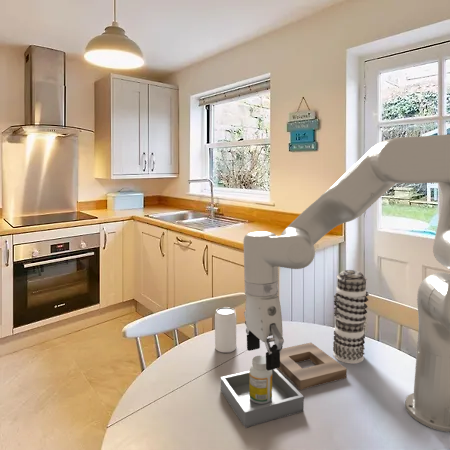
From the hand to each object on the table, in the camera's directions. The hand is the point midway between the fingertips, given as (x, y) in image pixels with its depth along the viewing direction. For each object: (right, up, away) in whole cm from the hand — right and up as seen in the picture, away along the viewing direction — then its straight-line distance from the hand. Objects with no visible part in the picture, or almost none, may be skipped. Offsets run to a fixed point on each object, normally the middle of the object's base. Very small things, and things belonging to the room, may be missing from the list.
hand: (262, 358), depth 87 cm
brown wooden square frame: (+13, -8, +16) cm, 22 cm away
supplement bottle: (0, -10, +2) cm, 10 cm away
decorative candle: (+27, -7, +22) cm, 36 cm away
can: (-8, -7, +27) cm, 29 cm away
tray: (0, -11, +2) cm, 11 cm away
